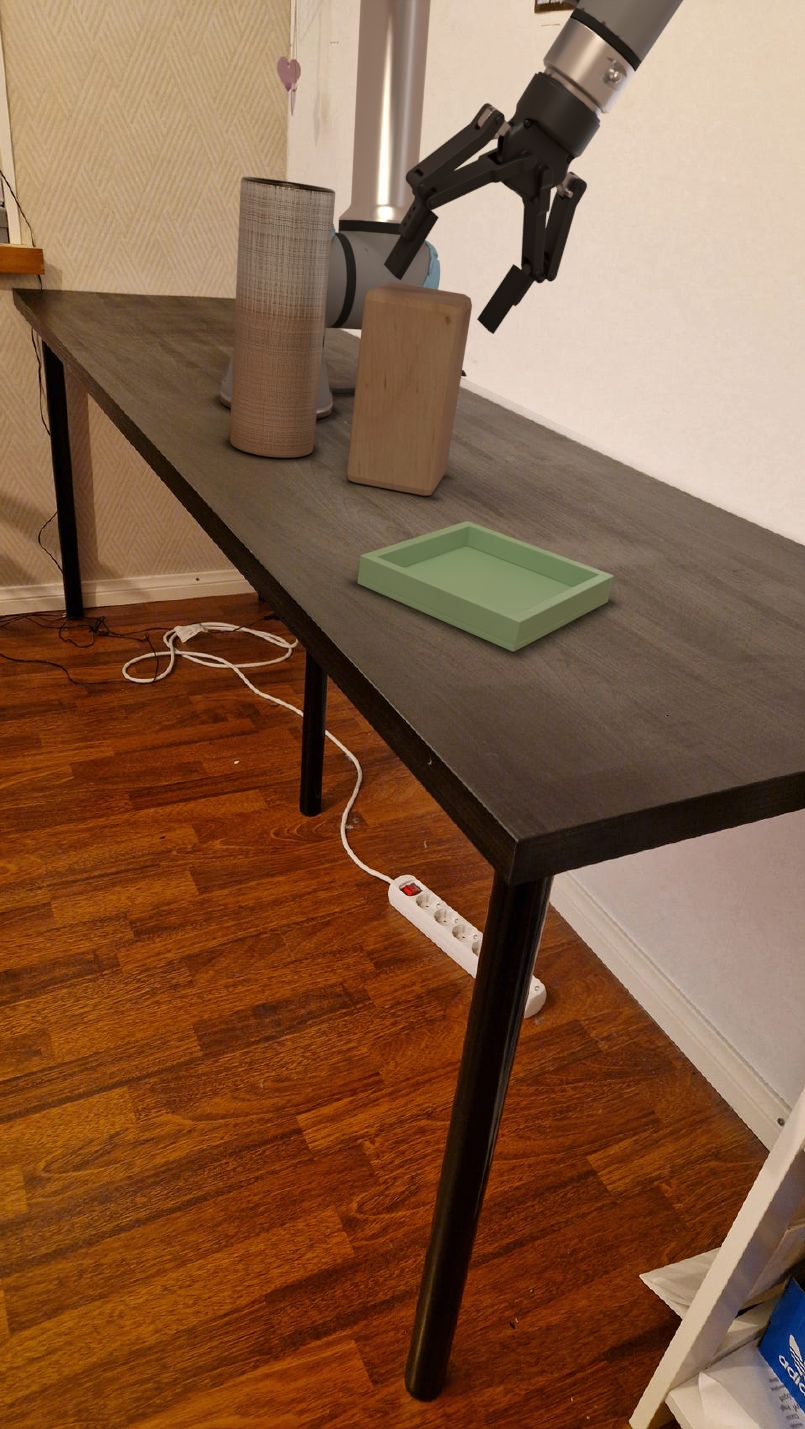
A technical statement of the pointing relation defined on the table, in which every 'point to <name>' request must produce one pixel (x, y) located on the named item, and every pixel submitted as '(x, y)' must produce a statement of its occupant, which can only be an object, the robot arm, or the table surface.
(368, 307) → the wooden block
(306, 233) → the vase
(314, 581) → the table surface
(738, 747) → the table surface
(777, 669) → the table surface
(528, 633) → the green serving tray
